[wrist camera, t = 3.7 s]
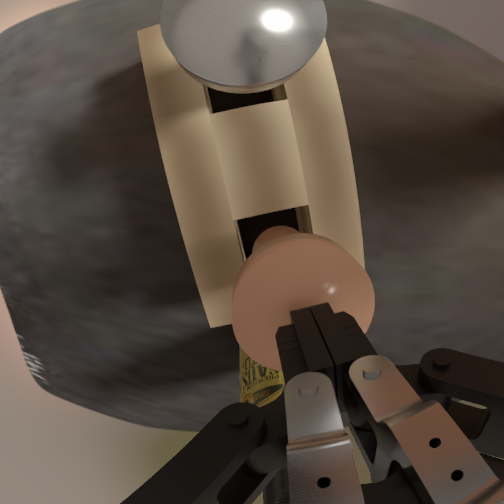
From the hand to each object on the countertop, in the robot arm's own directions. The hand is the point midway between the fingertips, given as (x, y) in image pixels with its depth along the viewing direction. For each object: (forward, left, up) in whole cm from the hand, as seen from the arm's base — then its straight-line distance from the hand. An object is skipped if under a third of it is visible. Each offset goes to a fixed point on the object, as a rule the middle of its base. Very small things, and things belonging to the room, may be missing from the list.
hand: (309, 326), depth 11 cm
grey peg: (0, -12, -9) cm, 15 cm away
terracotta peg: (0, 0, -9) cm, 9 cm away
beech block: (0, -6, -16) cm, 17 cm away
